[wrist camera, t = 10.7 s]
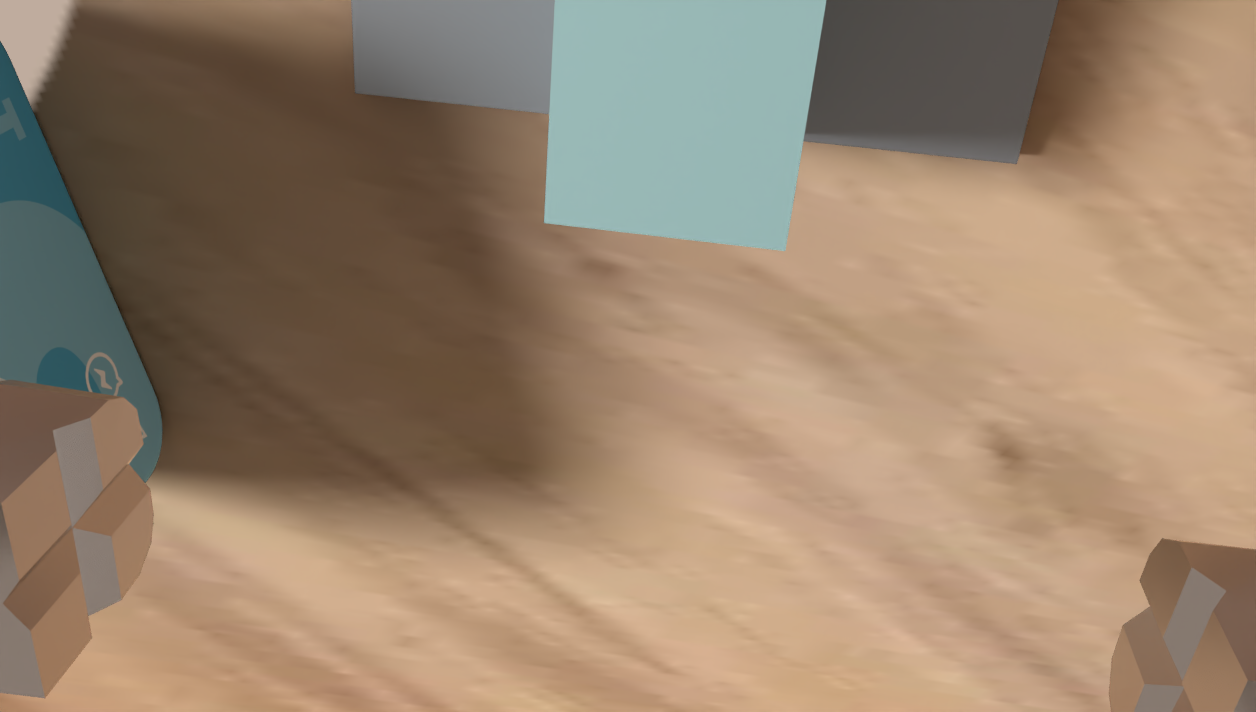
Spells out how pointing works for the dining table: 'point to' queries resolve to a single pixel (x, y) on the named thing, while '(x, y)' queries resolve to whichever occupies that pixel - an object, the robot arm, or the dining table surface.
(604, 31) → the tea tin
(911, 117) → the felt mat
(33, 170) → the data package
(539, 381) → the dining table surface
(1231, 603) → the robot arm
